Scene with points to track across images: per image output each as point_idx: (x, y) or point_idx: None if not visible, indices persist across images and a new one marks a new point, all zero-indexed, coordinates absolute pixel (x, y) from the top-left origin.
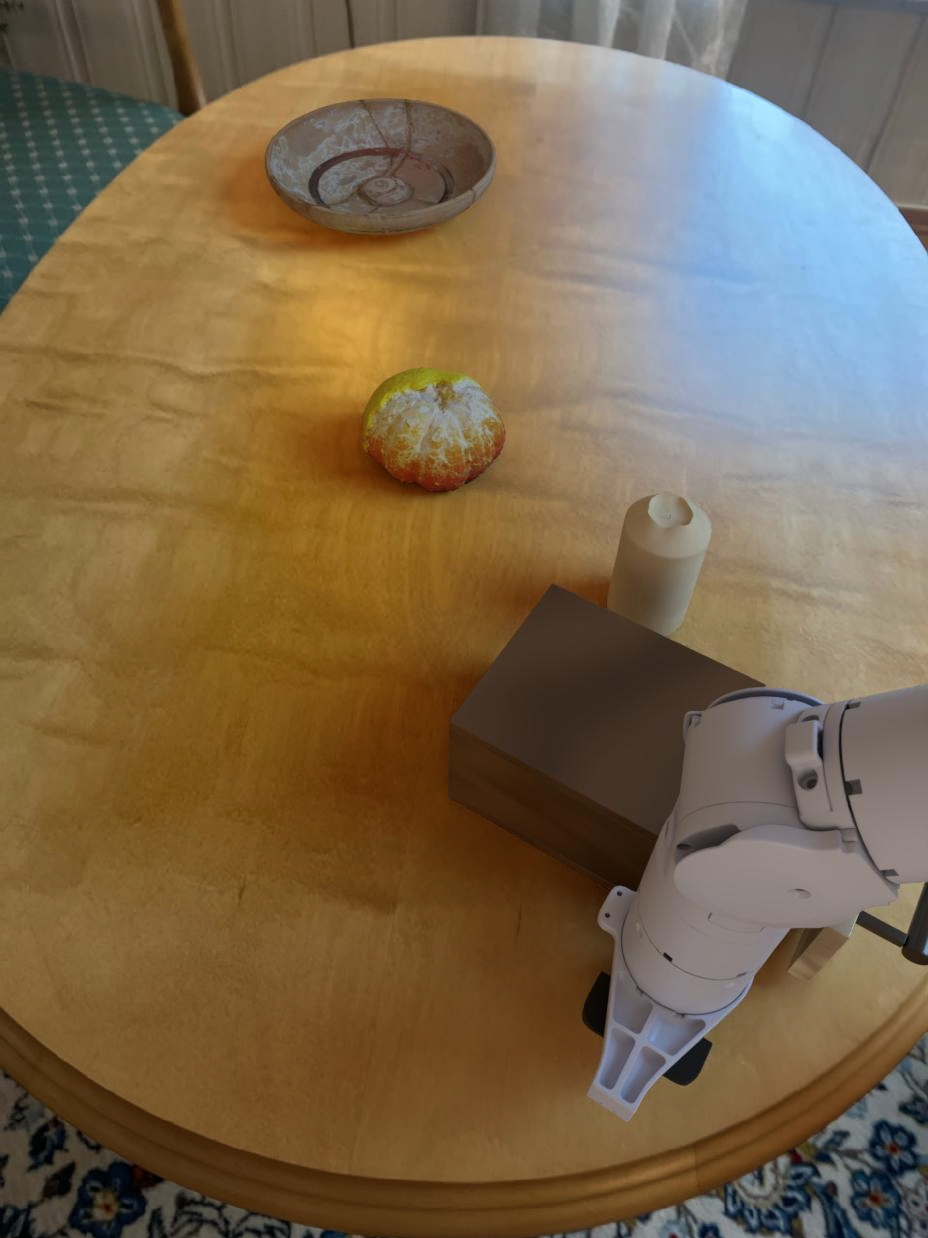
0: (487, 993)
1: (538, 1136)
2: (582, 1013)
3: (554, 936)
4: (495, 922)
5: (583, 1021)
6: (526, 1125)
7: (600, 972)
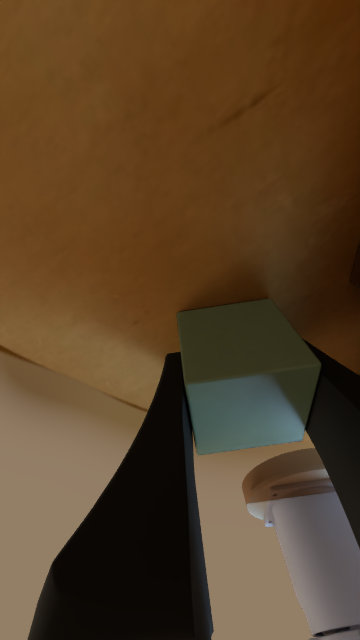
0: (102, 154)
1: (38, 330)
2: (50, 596)
3: (255, 188)
4: (218, 57)
5: (47, 579)
6: (32, 315)
7: (188, 627)
